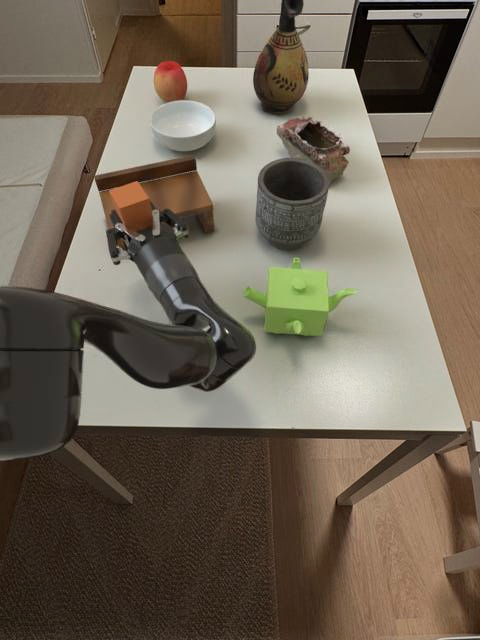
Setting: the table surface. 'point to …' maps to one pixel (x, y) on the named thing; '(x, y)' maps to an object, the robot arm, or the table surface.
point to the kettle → (296, 300)
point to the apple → (170, 81)
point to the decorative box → (315, 144)
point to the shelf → (162, 189)
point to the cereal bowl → (183, 125)
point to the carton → (132, 206)
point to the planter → (291, 201)
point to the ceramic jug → (282, 64)
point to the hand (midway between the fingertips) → (129, 208)
